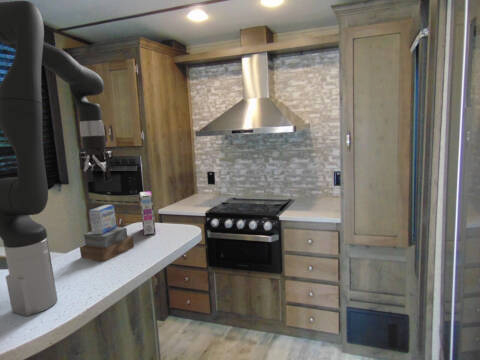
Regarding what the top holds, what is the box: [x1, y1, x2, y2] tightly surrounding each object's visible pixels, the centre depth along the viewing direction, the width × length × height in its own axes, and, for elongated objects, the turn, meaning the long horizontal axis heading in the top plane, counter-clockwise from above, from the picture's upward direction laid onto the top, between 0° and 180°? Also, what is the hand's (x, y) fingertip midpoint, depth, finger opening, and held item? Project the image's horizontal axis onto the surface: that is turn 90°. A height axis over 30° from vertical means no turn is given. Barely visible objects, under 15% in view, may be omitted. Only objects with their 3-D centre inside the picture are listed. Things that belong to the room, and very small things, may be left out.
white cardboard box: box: [139, 190, 156, 237], centre depth 143 cm, size 11×5×16 cm, turn 17°
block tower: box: [79, 226, 135, 262], centre depth 122 cm, size 14×11×8 cm
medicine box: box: [88, 204, 117, 234], centre depth 121 cm, size 8×4×9 cm, turn 165°
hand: (99, 181), depth 119 cm, fingers open, 8 cm apart
